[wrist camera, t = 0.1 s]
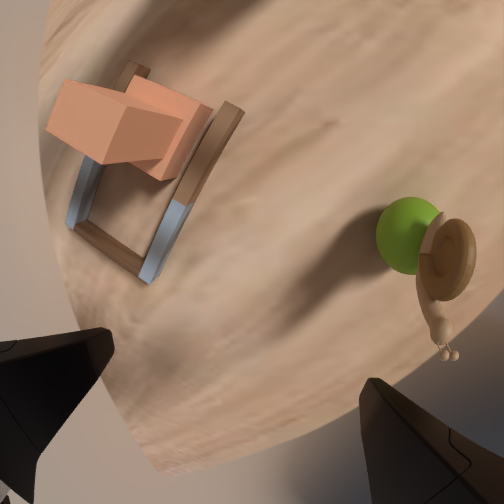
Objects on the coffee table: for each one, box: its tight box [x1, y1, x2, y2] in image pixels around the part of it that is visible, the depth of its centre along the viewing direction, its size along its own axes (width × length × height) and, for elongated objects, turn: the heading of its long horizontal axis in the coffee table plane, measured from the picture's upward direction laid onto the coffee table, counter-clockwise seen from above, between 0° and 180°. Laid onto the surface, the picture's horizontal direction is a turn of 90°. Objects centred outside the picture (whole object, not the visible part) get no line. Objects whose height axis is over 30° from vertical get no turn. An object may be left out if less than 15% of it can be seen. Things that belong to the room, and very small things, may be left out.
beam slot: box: [65, 60, 245, 285], centre depth 21 cm, size 16×10×2 cm
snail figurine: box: [376, 197, 476, 361], centre depth 15 cm, size 5×6×12 cm
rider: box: [45, 75, 213, 181], centre depth 16 cm, size 6×6×10 cm
